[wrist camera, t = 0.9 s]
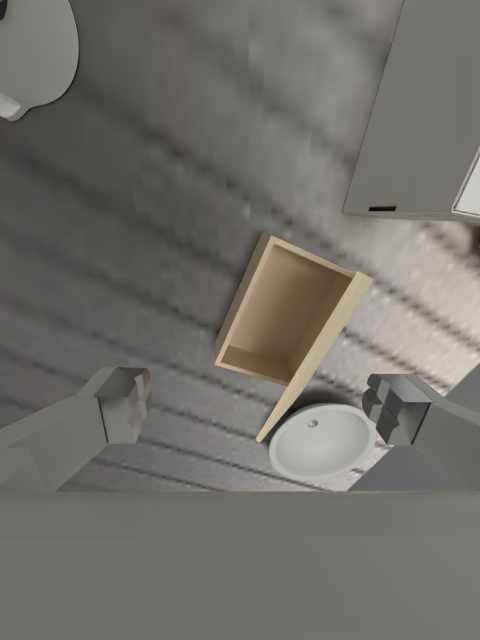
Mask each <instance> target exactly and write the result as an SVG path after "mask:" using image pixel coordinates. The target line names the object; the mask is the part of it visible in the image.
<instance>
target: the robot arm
mask: <svg viewBox="0 0 480 640" xmlns="http://www.w3.org/2000/svg"><path fill="white" fill-rule="evenodd" d="M78 54H79V45H78V34H77V28H76V23H75V19H74V15H73V12H72V9H71V6H70V4H69V1H68V0H0V116H1V117H3V118H5V119H6V120H9V121H16V120H18V119H19V118H20V117H22V116H23V115H24V114H25V113H26V111H27V110H28V109H29V108H32V107H35V106H39V105H44V104H47V103H50V102H52V101H54V100H56V99H57V98H59V97H60V96H61V95H62V94H63V93H64V92H65V91H66V90H67V89H68V87H69V86H70V84H71V82H72V80H73V78H74V75H75V72H76V68H77V63H78ZM149 380H150V374H149V370H148V369H147V368H127V367H102V368H100V369H99V370H98V371H97V373H96V374H95V375H94V376H93V377H92V378H91V379H90V380H89V381H88V382H87V383H86V385H85V386H84V387H83V388H82V389H81V390H80V391H79V392H78V393H77V394H76V395H75V397H68V398H65V399H63V400H61V401H59V402H57V403H55V404H53V405H51V406H49V407H47V408H44V409H42V410H40V411H38V412H36V413H34V414H32V415H30V416H28V417H26V418H23V419H21V420H19V421H17V422H15V423H13V424H11V425H9V426H7V427H5V428H2V429H0V640H480V414H479V413H476V412H474V411H472V410H469V409H467V408H465V407H463V406H461V405H458V404H456V403H450V402H449V401H448V400H446V399H445V398H444V397H443V396H442V395H440V394H439V393H438V392H437V391H435V390H434V389H433V388H432V387H430V386H429V385H428V384H427V383H426V382H424V381H423V380H422V379H421V378H419V377H418V376H417V375H414V374H371V375H370V376H369V378H368V381H367V385H368V387H369V389H368V390H367V391H365V392H364V394H363V398H362V406H363V410H364V412H365V414H366V416H367V417H368V419H370V420H371V421H373V422H374V423H376V430H377V431H378V433H379V434H380V436H381V437H382V438H383V440H384V441H385V443H386V444H387V445H405V446H412V448H414V449H415V450H416V451H418V452H419V453H420V454H422V455H423V456H424V457H426V458H427V459H428V460H430V461H431V462H432V463H434V464H435V465H436V466H438V467H439V468H440V469H441V470H443V471H444V472H445V473H447V474H448V475H449V476H451V477H452V478H453V479H455V480H456V481H457V482H459V483H460V484H461V485H463V486H464V487H465V488H466V489H468V490H469V491H274V492H54V491H55V490H56V489H57V488H59V487H60V486H61V485H62V484H63V483H64V482H65V481H67V480H68V479H69V478H70V477H71V476H72V475H74V474H75V473H76V472H77V471H78V470H79V469H81V468H82V467H83V466H84V465H85V464H86V463H87V462H89V461H90V460H91V459H92V458H93V457H94V456H96V455H97V454H98V453H99V452H100V451H101V450H103V449H104V448H105V447H106V446H107V445H108V444H112V443H135V442H136V440H137V438H138V436H139V433H140V431H141V429H142V427H143V425H142V419H144V418H145V417H147V415H148V413H149V410H150V406H151V402H152V391H151V388H150V387H149V386H148V385H147V384H148V382H149Z"/></svg>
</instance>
